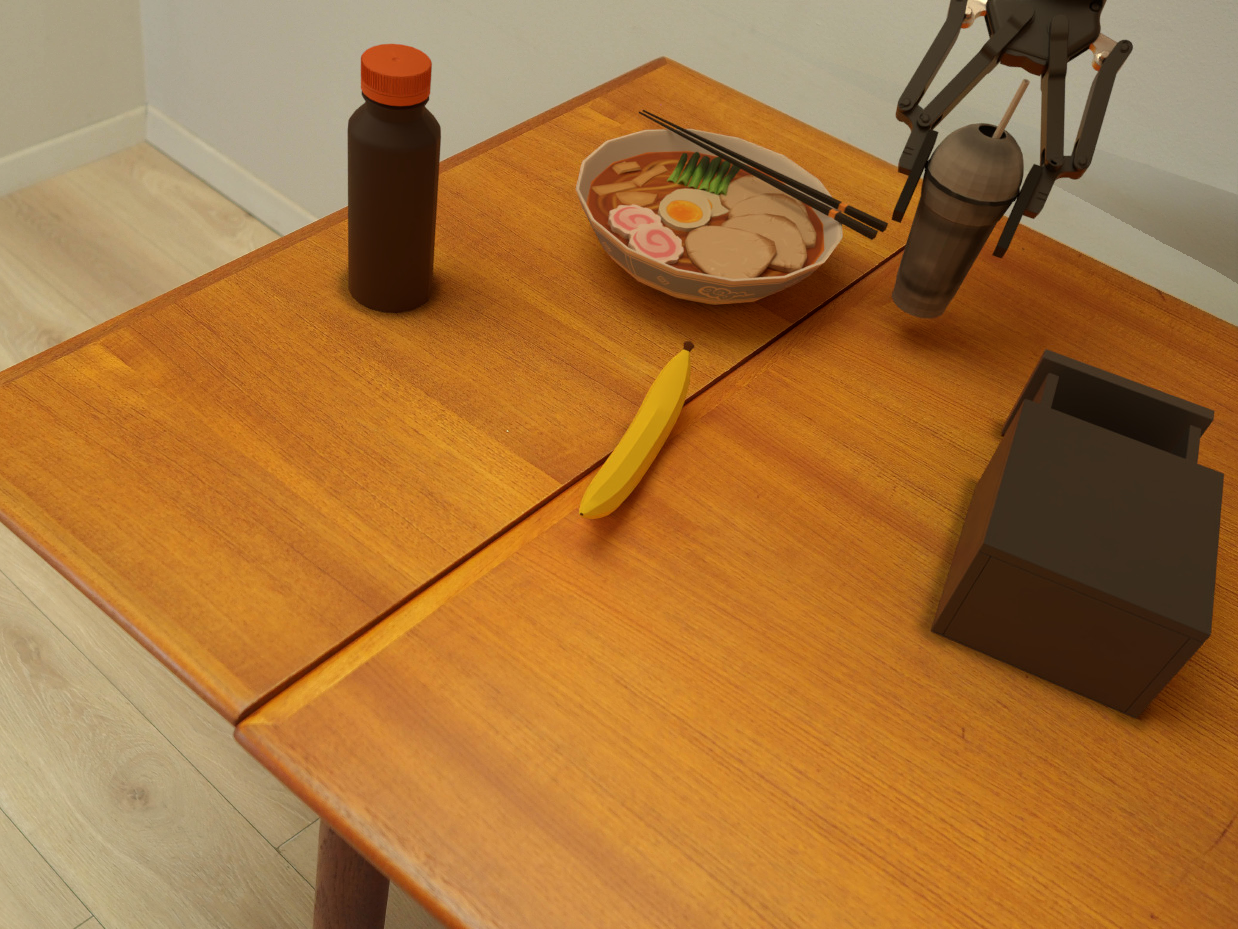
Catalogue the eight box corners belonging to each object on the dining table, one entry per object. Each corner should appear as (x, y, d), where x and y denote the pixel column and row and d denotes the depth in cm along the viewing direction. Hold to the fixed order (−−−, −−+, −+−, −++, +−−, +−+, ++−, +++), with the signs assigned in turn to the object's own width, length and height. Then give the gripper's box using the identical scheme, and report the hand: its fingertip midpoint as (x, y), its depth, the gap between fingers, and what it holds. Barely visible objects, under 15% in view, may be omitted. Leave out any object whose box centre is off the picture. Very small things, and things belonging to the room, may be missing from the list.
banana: (551, 555, 78) (563, 490, 74) (656, 397, 91) (672, 333, 86) (590, 572, 78) (605, 507, 73) (690, 411, 90) (708, 347, 85)
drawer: (1012, 395, 95) (1053, 319, 89) (1165, 453, 92) (1218, 378, 87) (967, 542, 83) (1012, 464, 77) (1142, 613, 80) (1202, 539, 75)
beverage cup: (939, 273, 100) (1039, 48, 85) (977, 327, 95) (1089, 99, 80) (861, 276, 98) (950, 46, 83) (896, 331, 93) (996, 98, 79)
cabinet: (971, 493, 88) (1024, 398, 81) (1153, 565, 85) (1224, 473, 78) (926, 637, 78) (983, 542, 71) (1131, 725, 75) (1211, 635, 68)
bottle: (330, 290, 95) (326, 54, 80) (391, 259, 99) (397, 28, 84) (389, 331, 92) (395, 94, 78) (448, 297, 96) (465, 65, 81)
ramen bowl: (500, 253, 101) (510, 169, 95) (659, 167, 114) (676, 89, 108) (732, 400, 92) (759, 317, 86) (876, 288, 105) (908, 209, 99)
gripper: (1193, 11, 88) (1069, 292, 90) (936, -66, 93) (821, 204, 94) (1228, -38, 81) (1092, 269, 82) (948, -119, 85) (822, 174, 86)
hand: (948, 234), depth 88 cm, fingers closed on beverage cup, 7 cm apart
